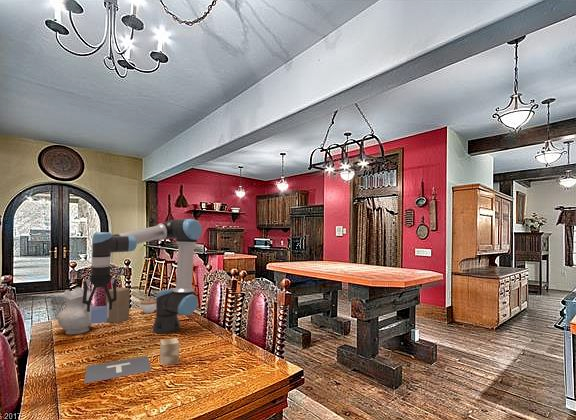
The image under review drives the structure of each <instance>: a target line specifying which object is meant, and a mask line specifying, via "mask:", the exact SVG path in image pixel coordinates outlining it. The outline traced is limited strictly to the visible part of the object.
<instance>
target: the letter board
mask: <svg viewBox="0 0 576 420" xmlns="http://www.w3.org/2000/svg"><path fill="white" fill-rule="evenodd" d="M152 371H153V370H152V367H151V364H150V360H149V357H148V355H146V356H145V355H144V356H140V357H139V356H138V357H133V358H126V359H120V360H116V361H110V362H105V363H98V364H97V363H96V364H92V365H86V369H85V375H84V380H83V382H84V383H83V384H88V383H93V382H99V381H104V380H110V379H115V378H119V377H120V378H121V377H125V376H131V375H136V374H137V375H138V374H141V373H147V372H152Z"/></svg>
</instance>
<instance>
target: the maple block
mask: <svg viewBox="0 0 576 420" xmlns="http://www.w3.org/2000/svg"><path fill="white" fill-rule="evenodd" d="M159 343H160V344H159V345H160V346H159V361H160V364H161V365H162V366H165V365H166V366H167V365H177V364H178V365H179V364H180V341H179V339H178V338H177V337H174V338H170V339H169V338H167V339H162V340H160V341H159Z"/></svg>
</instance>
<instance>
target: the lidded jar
mask: <svg viewBox="0 0 576 420" xmlns="http://www.w3.org/2000/svg"><path fill="white" fill-rule="evenodd" d="M140 310H141V311H142V312H143V314H153V313H154V312H156V299H151V298H148V299H145V300H142V301H140Z"/></svg>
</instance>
